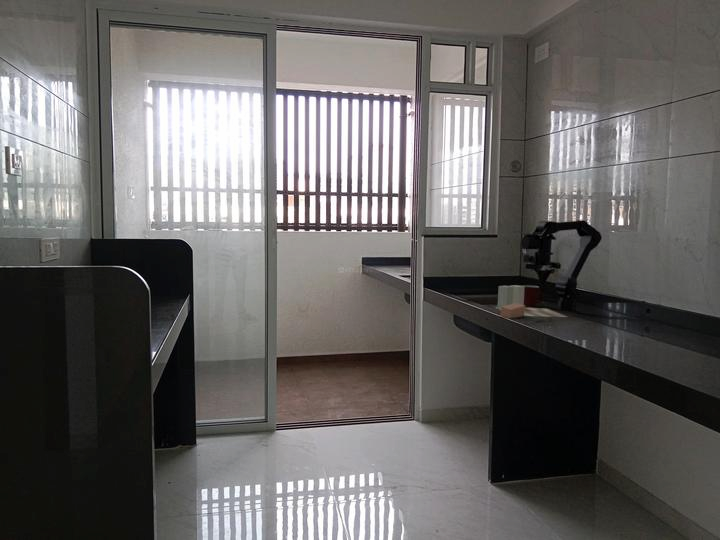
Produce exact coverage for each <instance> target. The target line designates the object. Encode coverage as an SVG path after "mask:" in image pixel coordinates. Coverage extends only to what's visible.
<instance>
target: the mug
mask: <svg viewBox="0 0 720 540" xmlns="http://www.w3.org/2000/svg"><path fill="white" fill-rule="evenodd" d="M522 286H525V288H524V304H523V305H525V307H535V306H536V305H537V304H541V303H543V302H544V301H545V294H544V293H543V292H541V291H540V286H537V285H531V284H530V285H525V284H524V285H522ZM540 295H541V300H539V301H538V299H539V296H540Z"/></svg>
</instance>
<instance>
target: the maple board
mask: <svg viewBox="0 0 720 540" xmlns="http://www.w3.org/2000/svg"><path fill="white" fill-rule="evenodd" d="M497 307H498V306H494V308H496V309H497ZM498 310H500V311H501V309H498ZM523 317H547V318H548V317H549V318H550V317H552V318H553V317H554V318H568V316H567V315H564V314H562V313H559V312H556V311H554V310H552V309H549V308H545V307H544V308H543V307H541V308H540V307H525V313H524V316H523Z"/></svg>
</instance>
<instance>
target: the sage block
mask: <svg viewBox="0 0 720 540" xmlns="http://www.w3.org/2000/svg"><path fill="white" fill-rule="evenodd" d="M511 286H512V285H498V290H497V291H498V293H497V306H496V307H497V308H496V309H498V310H499V309H501V307H502V306H506V305H510V304H513V288H514V287H511Z"/></svg>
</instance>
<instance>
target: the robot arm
mask: <svg viewBox="0 0 720 540" xmlns="http://www.w3.org/2000/svg"><path fill="white" fill-rule="evenodd" d="M573 230H576V233H577V235H578V237H580V239H579V248H578V250H577V252H576V253H575V256H574V258H573V260H572V262H571V264H570V266H569V267H568V270H567V271H566V273H565V274H564V275H559V276H558V277H557V278H558V279H557V281H556V282H555V287H554V289H555V292H556V293H557V297H558V298H559V300H558V310H560V311H572V312H573V311H574V312H575V311H576V309H577V300H579V299H580V297H581V294H580V292H579V291H578V290H577V286H578V277H579V275H580V273H581V271H582V269H583V267H584V265H585V263H586V261H587V259H588V258H589V255H590V253H591V252H592V251H594V249H595V248H596V247H597V246H598V245H599V244H600V242H602V234H601V232H599V230H597V229H596V228H595V227H593V226H592V225H590V224H589V223H588V222H587V221H586V220H583V219H582V220H581V219H577V220H572V221H570V220H569V221H568V220H567V221H552V220H551V221H550V220H548V221H547V220H540V221H538V223H537V224H536V226H535V228H534V230H533V231H532V233H524V236H523V237H522V238H521V242H520V245H521V248H522V249H523V250H537V251H535V252H534V255H530V254H525V255H523V260H522V261H523V262H524V263H525V265H524V269H527V270H532V271H534V272H535V273H536V274H537V277H538V281H539V284H540V286H544V285H545V283H546V281H547V280H548V278H549V277H550V275H551V274H552V272H553V271H554V270H553V269H556V270H561V269H562V264H561V263H560V262H556V261H551V258H552V257H551V256H552V255H554V252H552V241H553V240H557V238H556V236H554V234H557V233H558V232H560V231H561V232H562V231H573Z"/></svg>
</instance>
